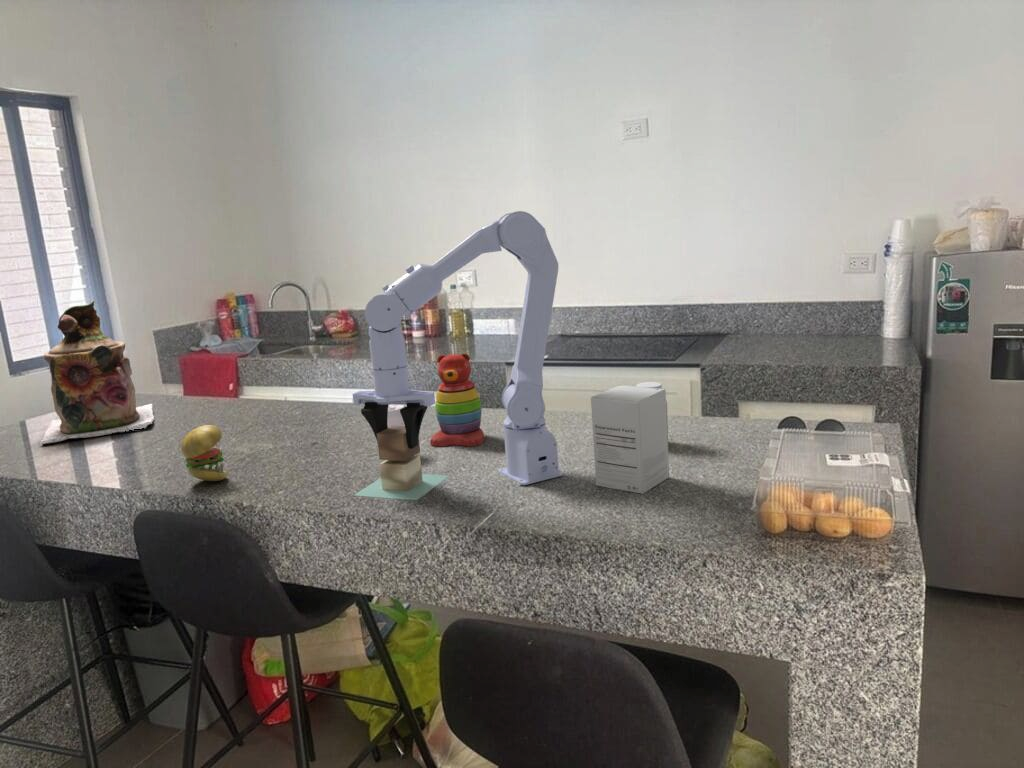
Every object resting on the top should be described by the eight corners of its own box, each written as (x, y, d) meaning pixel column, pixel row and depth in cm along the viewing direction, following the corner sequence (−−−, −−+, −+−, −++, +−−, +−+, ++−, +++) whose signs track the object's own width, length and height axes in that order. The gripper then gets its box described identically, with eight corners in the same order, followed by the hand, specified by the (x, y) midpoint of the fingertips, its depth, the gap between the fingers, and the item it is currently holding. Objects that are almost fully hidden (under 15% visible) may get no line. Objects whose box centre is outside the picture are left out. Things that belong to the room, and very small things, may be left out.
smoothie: (378, 462, 143) (369, 390, 140) (375, 453, 149) (367, 384, 146) (411, 457, 144) (404, 386, 142) (407, 449, 150) (399, 380, 148)
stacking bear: (427, 447, 151) (418, 359, 147) (443, 433, 160) (435, 351, 157) (479, 446, 148) (471, 358, 145) (492, 432, 158) (485, 349, 154)
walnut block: (420, 452, 128) (417, 426, 127) (405, 461, 124) (402, 434, 123) (394, 451, 130) (392, 425, 129) (379, 459, 126) (376, 433, 125)
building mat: (450, 477, 131) (449, 475, 131) (416, 501, 120) (416, 500, 120) (390, 473, 136) (390, 472, 135) (353, 497, 125) (353, 495, 125)
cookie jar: (51, 426, 196) (26, 304, 190) (154, 411, 206) (134, 294, 200) (38, 448, 174) (9, 310, 168) (154, 429, 184) (131, 299, 178)
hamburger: (236, 480, 138) (226, 417, 136) (197, 492, 133) (186, 426, 131) (219, 473, 144) (209, 412, 141) (181, 483, 139) (170, 421, 137)
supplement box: (623, 469, 128) (619, 384, 125) (670, 477, 123) (667, 388, 119) (593, 486, 121) (588, 395, 118) (642, 495, 116) (638, 400, 113)
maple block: (422, 481, 129) (420, 456, 128) (408, 491, 125) (405, 465, 124) (397, 479, 131) (394, 454, 130) (382, 489, 126) (379, 463, 126)
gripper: (338, 371, 123) (348, 451, 125) (416, 371, 117) (425, 455, 120) (362, 363, 129) (371, 439, 132) (437, 363, 124) (445, 442, 126)
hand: (398, 446), depth 126 cm, fingers open, 5 cm apart
